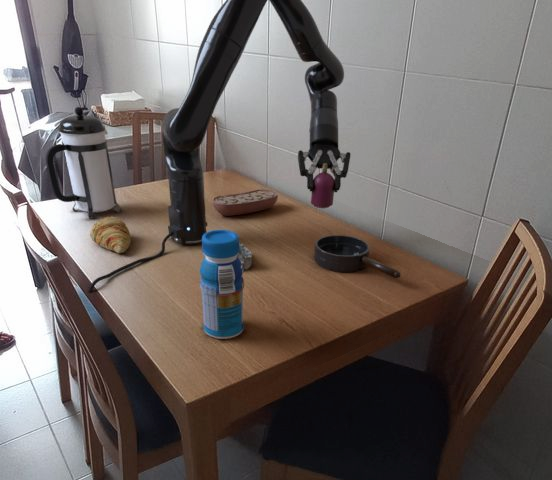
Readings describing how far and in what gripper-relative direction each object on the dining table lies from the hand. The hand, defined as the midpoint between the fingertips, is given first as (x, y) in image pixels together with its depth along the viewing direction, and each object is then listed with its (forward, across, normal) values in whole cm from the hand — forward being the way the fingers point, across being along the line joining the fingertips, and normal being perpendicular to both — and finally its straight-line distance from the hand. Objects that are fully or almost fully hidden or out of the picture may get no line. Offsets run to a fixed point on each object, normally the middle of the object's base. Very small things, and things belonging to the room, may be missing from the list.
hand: (323, 190), depth 123 cm
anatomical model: (-9, -21, +33) cm, 40 cm away
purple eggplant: (+2, 0, +4) cm, 5 cm away
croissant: (+11, -57, +13) cm, 60 cm away
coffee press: (-6, -69, +29) cm, 75 cm away
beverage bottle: (+41, -23, -18) cm, 51 cm away
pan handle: (+22, +14, -2) cm, 26 cm away
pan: (+17, +5, +7) cm, 19 cm away
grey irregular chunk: (+18, -23, +5) cm, 30 cm away
